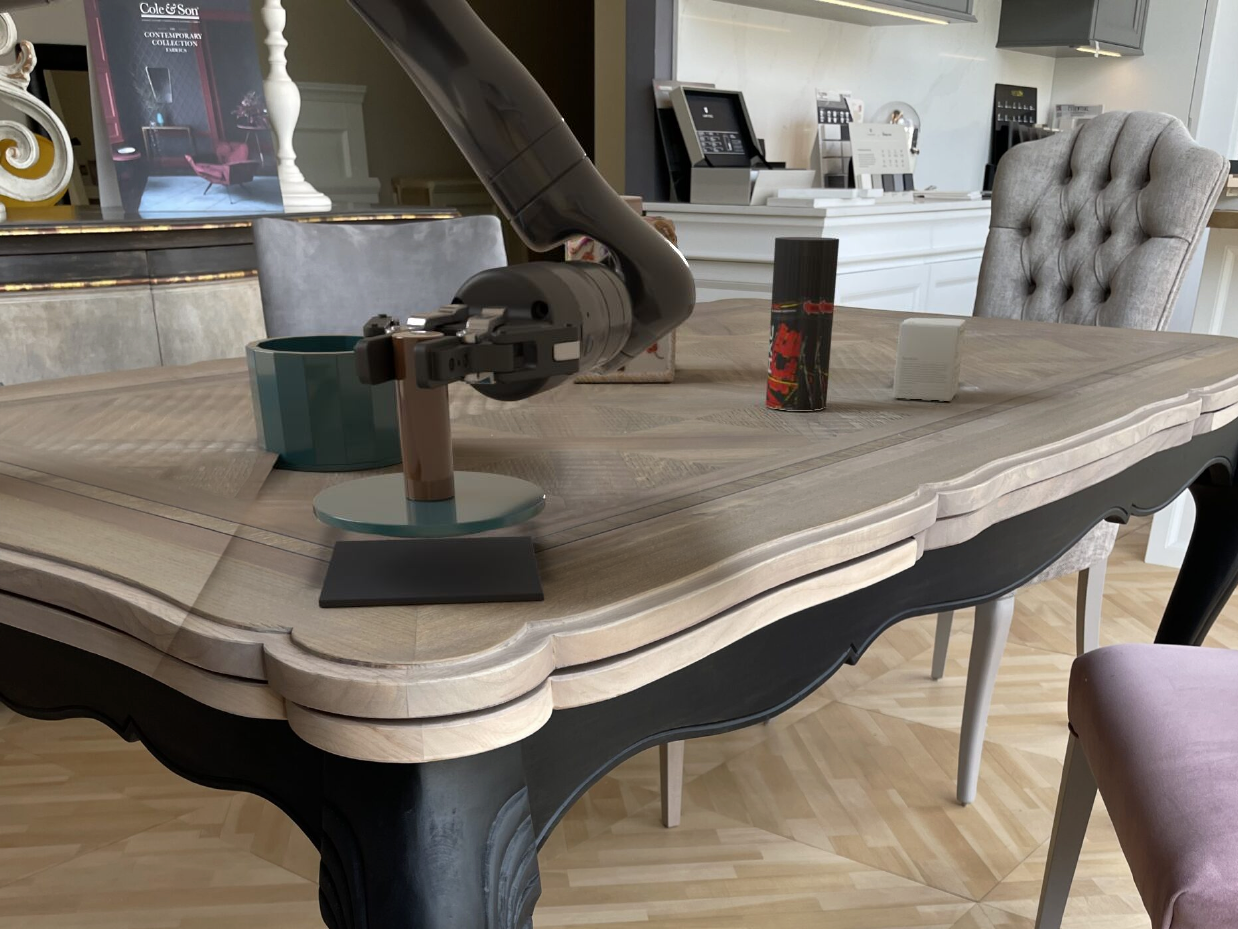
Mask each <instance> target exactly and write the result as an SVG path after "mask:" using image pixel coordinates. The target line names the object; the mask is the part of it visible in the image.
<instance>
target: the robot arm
mask: <svg viewBox="0 0 1238 929" xmlns="http://www.w3.org/2000/svg"><path fill="white" fill-rule="evenodd" d="M69 1H71V0H0V14H5V13H12V12H18V11H25V10H31V9H34V8H35V9H36V8H40V7H47V6H50V5H52V6H53V5H58V4H62V3H66V2H69ZM346 1H347V3H348V4H349V5H350V6H351V8H353V9H354V11H355V12H356V13H357V14H358V15H359V16H360V17H361V18H362V20H363V21H364V22H365V23H366V24H367V25H368V26H369V28H371V30H372V31H373V32H374V33H375V35H376V36H377V37H378V38H379V39H380V41H381V42H382V43H383V44H384V46H385V47H386V48H387V49H388V50H389V52H390V53H391V55H393V57H394V58H395V59H396V61H397V62H398V63H399V65H400V66H401V67H402V69H403V70H404V72H406V74H407V75H408V76H409V78H410V79H411V81H412V82H413V83H414V84H415V86H416V87H417V88H418V90H419V91H420V93H421V95H422V96H423V97H424V99H425V100H426V101H427V103H428V104H429V106H430V107H431V109H432V110H433V112H434V113H435V114H436V116H437V118H438V119H439V120H440V122H441V123H442V125H443V127H444V128H445V129H446V131H447V132H448V133H449V135H450V137H451V138H452V140H453V141H454V143H455V144H456V146H457V147H458V148H459V150H460V152H461V153H462V154H463V156H464V158H465V159H466V161H467V162H468V164H469V165H470V166H471V168H472V169H473V171H474V173H475V174H476V176H477V177H478V179H479V180H480V181H481V183H482V184H483V185H484V187H485V189H486V190H487V192H488V193H489V194H490V196H491V197H492V199H493V200H494V202H495V203H496V204H497V206H498V207H499V209H500V210H501V212H502V213H503V215H504V216H505V217H506V219H507V220H508V221H509V220H510V221H509V224H510V225H511V226H512V228H513V230H515V232H516V233H517V235H518V236H519V238H520V239H521V240H522V241H523V243H524V244H525V245H526V246H527V247H528V248H529V249H531V250H532V251H534V252H536V253H544V252H548V251H550V250H554V249H555V248H558V247H559V246H562V245H565V244H564V243H565V242H567V241H570V240H572V239H575V238H578V237H587V238H590V239H592V240H594V241H596V242H598V243H600V244H601V245H603V246H604V247H606V248H607V249H608V250H609V252H608V253H607V254H606V255H604V256H603V257H602V258H601V259H599V260H598V261H597V262H595V261H590V260H569V261H565V260H563V261H556V262H555V261H547V260H544V261H543V260H540V261H530V262H524V263H517V264H512V265H511V264H510V265H505V266H497V267H491V268H488V269H484V270H481V271H479V272H477V273H475V274H473V275H472V276H470V277H469V278H468V279H466V280H465V281H464V282H463V284H461V286H460V287H459V288H458V290H457V291H456V292H455V294H454V296H453V298H452V300H451V302H450V303H449V304H445V305H441V306H439V307H438V310H436V311H429V312H423V313H417V314H411V315H410V316H409V317H408V319H407V322H406V325H400V319H399V318H394V316H392V315H388V313H378V314H377V315H376V316H372V317H371V318H370V319H369V320H368V321H366V323H365V324H364V325H363V326H362V335H364V339H361V340H359V341H358V342H357V344H356V346H355V347H354V357H355V367H356V376H358V377H359V381H360V382H361V383H362V384H365V385H378V384H381V383H385V382H388V381H392V380H395V371H394V360H393V348H392V334H395V333H399V332H409V331H432V332H440V333H443V334H444V335H445V337H441V338H436V339H432V340H428V341H424V342H420V343H417V344H416V345H415V348H414V363H415V376H416V383H417V386H418V387H419V388H424V389H434V388H438V387H441V386H444V385H447V384H448V385H450V384H453V383H457V382H463V383H465V384H466V385H469V386H470V387H472V388H473V389H474V390H475V391H477V392H478V393H480V394H481V395H483V396H485V397H487V398H489V399H491V400H495V401H499V402H519V401H522V400H526V399H528V398H531V397H534V396H536V395H537V396H538V395H539V394H543V393H544V392H548V391H551V390H553V389H555V388H559V387H561V386H563V385H566V384H569V383H571V382H572V380H574V379H576V378H577V377H578V376H580V375H581V374H582V373H585V372H588V373H591V374H593V375H596V376H604V375H607V374H610V373H612V372H614V371H616V370H618V369H619V368H621V367H623V366H624V365H626V364H627V363H629V362H630V361H632V360H633V359H634V358H636V357H637V356H638V355H640V354H641V353H643V352H644V351H645V350H647V349H648V348H649V347H651V346H652V345H653V344H655V343H656V342H658V341H659V340H660V339H662V338H663V337H664V336H666V335H668V334H669V333H670V332H672V331H673V330H675V329H676V330H677V328H679V327H680V326H682V325H684V323H686V321H687V320H688V319H689V318H690V317H691V316H692V314H693V312H694V310H695V307H696V302H697V290H696V282H695V278H694V274H693V271H692V269H691V267H690V265H689V264H688V262H687V260H686V259H685V257H684V256H683V254H682V253H681V252H680V251H679V249H678V250H677V249H676V248H675V247H674V246H673V245H672V244H671V243H670V242H669V241H668V240H667V239H666V238H665V237H664V236H663V235H662V234H661V233H659V232H658V231H657V230H656V229H655V228H654V227H652V226H651V225H650V224H649V223H648V222H647V221H645V220H644V219H643V218H642V217H643V216H642V217H641V216H640V215H639V214H638V213H637V212H635V211H634V210H633V209H632V208H631V207H630V206H629V205H628V204H627V203H626V202H625V201H624V200H623V199H622V198H621V197H620V196H621V195H619V194H618V193H617V192H616V190H615V189H613V187H612V186H611V185H610V184H609V183H608V182H607V180H606V179H605V178H604V177H603V176H602V175H601V174H600V172H599V171H598V169H597V168H596V166H595V165H594V164H593V163H592V160H590V158H589V157H588V156H587V153H586V152H585V150H584V148H583V147H582V146H581V144H580V142H579V141H578V139H577V138H576V136H575V135H574V133H573V132H572V130H571V129H570V127H569V126H568V124H567V122H566V121H565V119H564V118H563V116H562V115H561V113H560V112H559V110H558V109H557V107H556V106H555V105H554V103H553V101H552V100H551V99H550V97H549V96H548V94H547V93H546V92H545V90H544V89H543V88H542V86H541V85H540V84H539V83H538V81H537V80H536V79H535V77H534V76H533V75H532V74H531V73H530V71H529V70H528V69H527V68H526V67H525V66H524V65H523V64H522V62H521V61H520V60H519V59H518V58H517V57H516V56H515V55H514V54H513V53H512V52H511V50H510V49H508V48H507V46H506V45H505V44H504V43H503V42H502V41H501V40H500V39H499V38H498V37H497V36H496V35H495V34H494V33H493V32H492V30H491V29H489V27H488V26H487V25H486V24H485V23H484V21H482V20H481V18H480V17H479V16H478V15H477V13H476V12H475V11H474V10H473V8H472V7H471V6H470V4H469V3H468V2H467V1H466V0H346Z"/></svg>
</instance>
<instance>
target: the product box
mask: <svg viewBox="0 0 1238 929" xmlns="http://www.w3.org/2000/svg"><path fill="white" fill-rule="evenodd" d="M966 324H967V320H966V319H962V318H934V317H932V318H931V317H909V318H907V319H904V320H903V321H902V322H901V323H900V324H899V330H898V338H897V349H896V358H895V359H896V360H895V367H894V368H895V369H894V377H893V385H892V386H893V388H892V399H897V398H906V399H905V400H910V399H922V400H921V401H931V400H939V401H938V402H943V401H950V402H951V401H952V399H953V398H954V397H955V396H956V395H957V394H958V390H959V382H960V381H959V380H960V371H961V362H962V354H963V347H964V346H963V345H964V340H965V332H966V331H965V330H966ZM956 393H957V394H956ZM955 394H956V395H955ZM954 395H955V396H954ZM953 396H954V397H953Z"/></svg>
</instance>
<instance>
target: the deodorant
mask: <svg viewBox="0 0 1238 929" xmlns="http://www.w3.org/2000/svg"><path fill="white" fill-rule="evenodd" d="M839 246H840V238H836V237H821V236H820V237H819V236H818V237H817V236H781V237H775V238H774V252H773V268H772V269H773V270H772V271H773V272H772V288H771V289H772V290H771V304H770V305H771V308H770V323H769V324H770V325H769V341H768V342H769V343H768V358H767V359H768V360H767V376H766V395H765V406H766V405H767V406H769V407H772V408H777V409H785V410H815V409H821V408H824V407H826V408H827V401H828V399H827V398H828V386H829V376H830V375H829V373H830V364H831V363H830V362H831V350H832V349H831V348H832V338H833V337H832V336H833V335H832V334H833V322H834V312H835V298H836V287H837V286H836V285H837V273H838V272H837V271H838V262H839V261H838V260H839Z"/></svg>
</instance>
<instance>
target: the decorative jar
mask: <svg viewBox="0 0 1238 929" xmlns="http://www.w3.org/2000/svg"><path fill="white" fill-rule="evenodd" d="M619 196H620V197H621V198H622V199H623V200H624V201H625V202H626V203H627V204H628V205H629V206H630V207H631V208H632V209H633V210H634V211H635V212H637V213H638V214H639V215H640V216H641V217H642V218H643V219H644V220H645V221H647V222H648V223H649V224H650V225H651V226H652V227H654V228H655V229H656V230H657V231H658V232H659V233H661V234H662V235H663V236H664V237H665V238H666V239H667V240H668V241H669V242H670V243H671V244H672V245H673V246H674V247H675V248H676V249H677V250H678V251H679V246H678V236H677V235H676V227H675V222H674V220H673V219H671V218H667V217H664V216H661V215H645V216H643V197H642V196H636V195H635V196H634V195H619ZM563 245H564V251H565V252H564V259H565V260H564V261H569V260H590V261H595V262H597V261H598V260H599V259H601V258H602V257H603V256H604V255H606V254H607V253H608V252H609V250H608V249H607V248H606V247H604V246H603V245H601V244H600V243H598V242H596V241H594V240H592V239H590V238H587V237H578V238H575V239H572V240H570V241H567V242H565V243H564V244H563ZM676 343H677V328H676V329H675V330H673V331H672V332H670V333H669V334H668V335H666V336H664V337H663V338H662V339H660V340H659V341H658V342H656V343H655V344H653V345H652V346H651V347H649V348H648V349H647V350H645V351H644V352H643V353H641V354H640V355H638V356H637V357H636V358H634V359H633V360H632V361H630V362H629V363H627V364H626V365H624V366H623V367H621V368H619V369H618V370H616V371H614V372H612V373H610V374H607V375H604V376H596V375H593V374H591V373H588V372H585V373H582V374H581V375H580V376H578V377H577V378H576V379H574V380H572V381H571V382H572V384H579V383H581V384H583V383H584V384H586V383H589V384H592V383H595V384H596V383H597V384H598V383H672V382H673V381H674V379H675V373H676V372H675V370H676V349H677V348H676V347H677V346H676Z"/></svg>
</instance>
